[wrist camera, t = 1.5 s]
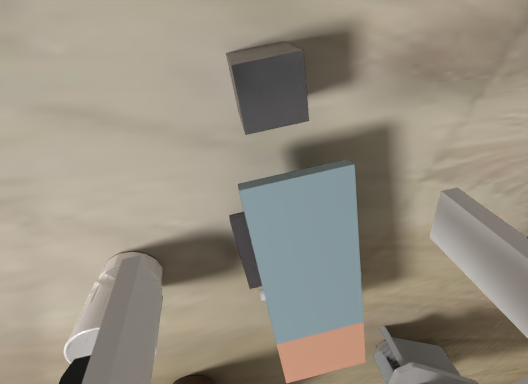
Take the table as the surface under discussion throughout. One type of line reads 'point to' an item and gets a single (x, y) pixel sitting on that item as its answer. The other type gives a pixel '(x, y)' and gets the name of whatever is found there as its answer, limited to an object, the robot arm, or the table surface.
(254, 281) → the pivot stand
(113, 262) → the white cup
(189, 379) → the plant pot
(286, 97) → the block
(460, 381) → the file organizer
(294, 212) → the balance beam
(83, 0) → the table surface
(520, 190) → the table surface
